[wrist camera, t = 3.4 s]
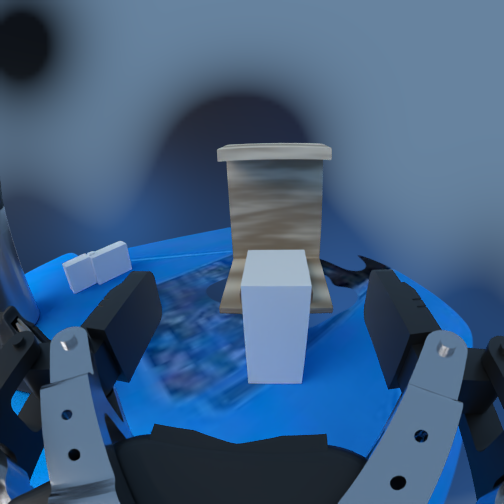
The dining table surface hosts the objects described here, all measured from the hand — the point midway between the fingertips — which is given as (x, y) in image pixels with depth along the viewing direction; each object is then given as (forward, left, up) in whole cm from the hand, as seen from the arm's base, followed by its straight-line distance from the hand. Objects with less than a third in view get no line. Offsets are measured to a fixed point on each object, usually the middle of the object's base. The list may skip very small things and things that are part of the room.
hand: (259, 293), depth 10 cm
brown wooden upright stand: (-13, +24, -16) cm, 31 cm away
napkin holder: (-39, +8, -17) cm, 43 cm away
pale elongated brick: (-5, +10, -16) cm, 20 cm away
